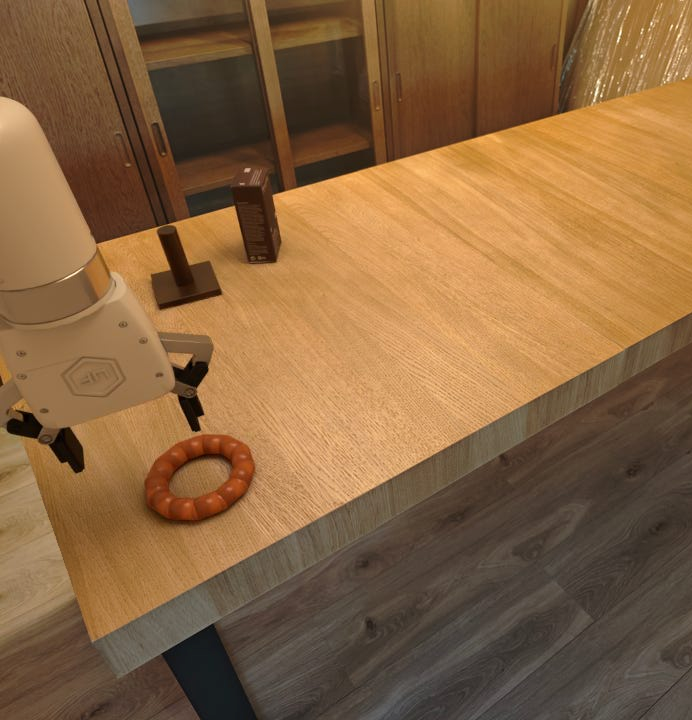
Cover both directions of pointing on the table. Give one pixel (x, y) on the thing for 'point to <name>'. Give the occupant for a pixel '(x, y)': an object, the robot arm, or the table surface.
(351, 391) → the table surface
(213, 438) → the ring
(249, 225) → the box
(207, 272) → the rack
